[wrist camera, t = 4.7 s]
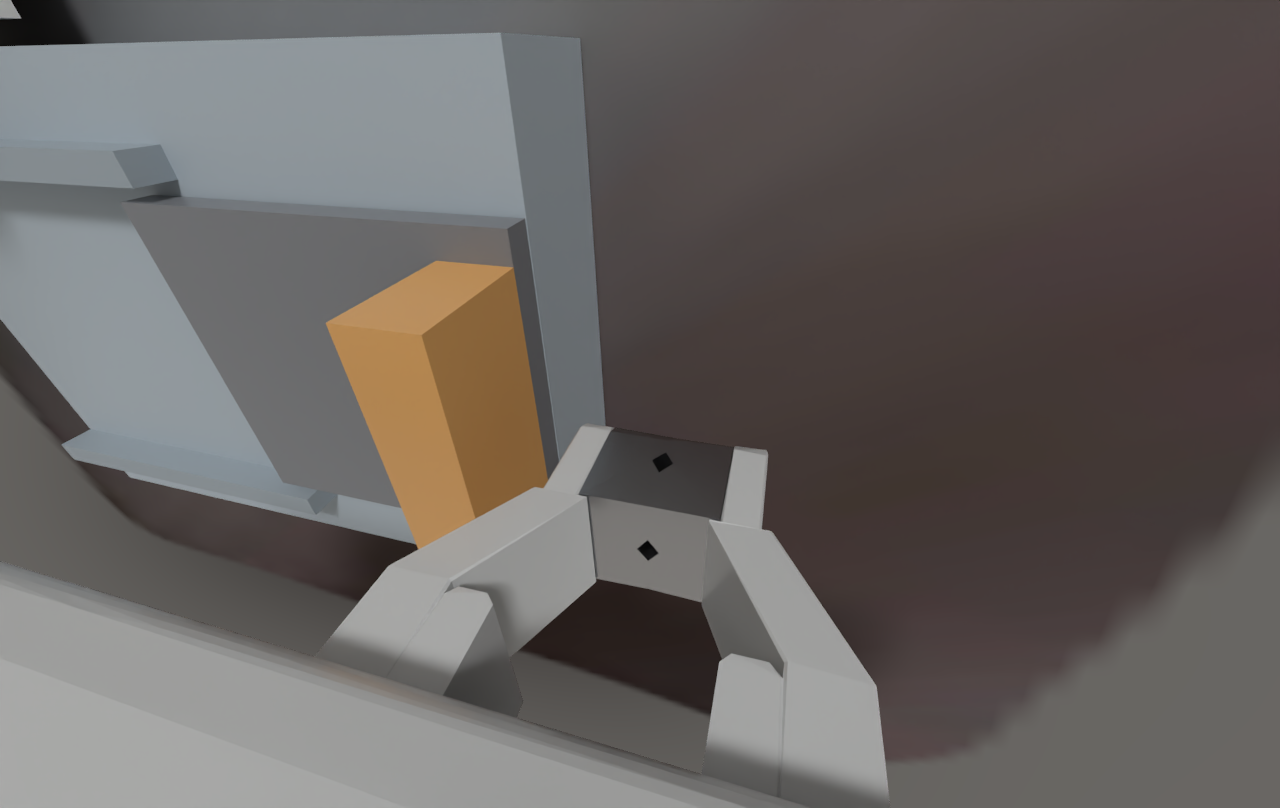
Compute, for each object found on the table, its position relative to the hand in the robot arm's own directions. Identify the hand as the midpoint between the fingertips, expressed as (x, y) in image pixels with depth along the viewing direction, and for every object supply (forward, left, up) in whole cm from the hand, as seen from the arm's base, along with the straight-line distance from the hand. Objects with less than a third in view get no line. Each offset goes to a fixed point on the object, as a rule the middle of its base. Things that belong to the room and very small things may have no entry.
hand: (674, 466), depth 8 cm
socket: (0, -11, -4) cm, 12 cm away
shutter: (0, -7, -1) cm, 7 cm away
